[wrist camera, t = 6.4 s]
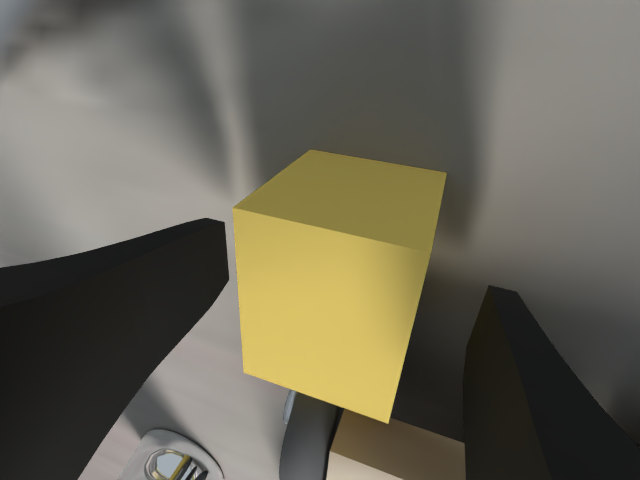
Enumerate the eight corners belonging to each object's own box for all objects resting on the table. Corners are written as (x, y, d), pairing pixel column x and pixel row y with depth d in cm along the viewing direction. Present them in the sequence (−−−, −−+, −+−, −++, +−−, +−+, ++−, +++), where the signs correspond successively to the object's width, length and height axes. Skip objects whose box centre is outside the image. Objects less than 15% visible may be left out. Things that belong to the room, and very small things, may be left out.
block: (413, 309, 13) (388, 423, 9) (305, 280, 14) (243, 372, 10) (447, 171, 10) (430, 253, 7) (311, 148, 11) (232, 207, 8)
